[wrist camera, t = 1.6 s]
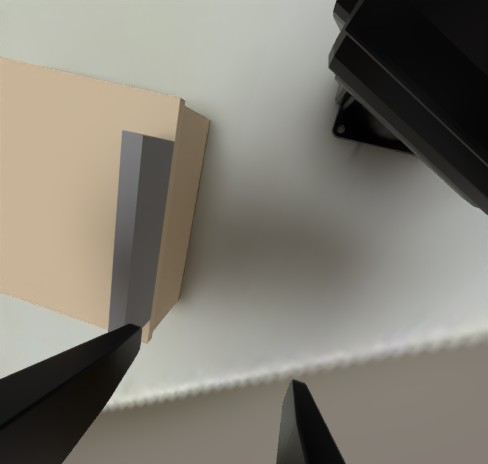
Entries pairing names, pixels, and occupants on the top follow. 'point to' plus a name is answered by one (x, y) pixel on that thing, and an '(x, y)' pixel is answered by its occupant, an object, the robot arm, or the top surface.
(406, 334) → the top surface
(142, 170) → the lid
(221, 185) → the top surface
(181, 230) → the mailer box
